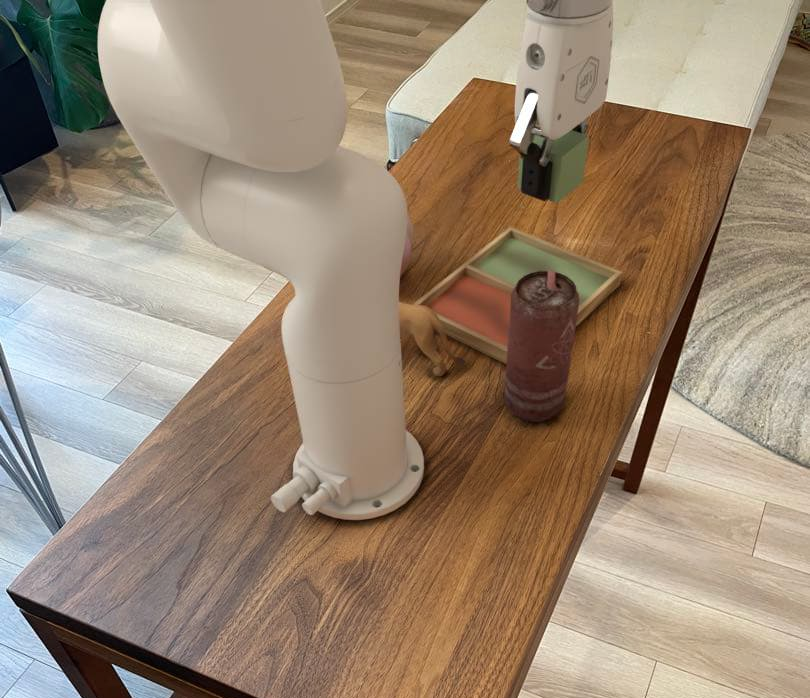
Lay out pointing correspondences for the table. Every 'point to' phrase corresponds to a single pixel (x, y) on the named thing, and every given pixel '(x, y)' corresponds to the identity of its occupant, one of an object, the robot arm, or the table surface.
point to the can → (540, 344)
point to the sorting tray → (509, 288)
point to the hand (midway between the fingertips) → (550, 181)
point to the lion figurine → (425, 333)
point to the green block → (564, 163)
